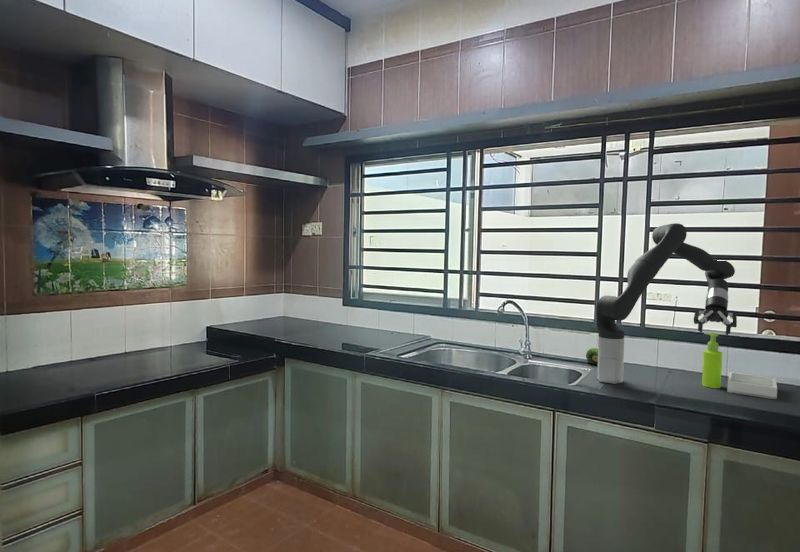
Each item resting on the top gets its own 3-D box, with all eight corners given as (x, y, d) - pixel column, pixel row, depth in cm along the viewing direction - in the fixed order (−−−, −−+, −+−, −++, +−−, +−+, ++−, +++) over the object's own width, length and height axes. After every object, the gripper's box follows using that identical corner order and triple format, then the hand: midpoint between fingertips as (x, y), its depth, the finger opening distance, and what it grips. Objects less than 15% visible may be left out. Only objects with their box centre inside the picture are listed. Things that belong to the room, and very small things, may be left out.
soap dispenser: (711, 383, 182) (713, 331, 181) (724, 388, 175) (726, 335, 174) (696, 383, 182) (698, 331, 181) (708, 388, 175) (711, 335, 174)
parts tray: (776, 399, 162) (777, 388, 162) (727, 392, 170) (727, 381, 170) (774, 388, 175) (775, 378, 175) (728, 382, 183) (729, 372, 183)
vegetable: (590, 346, 208) (592, 339, 227) (582, 360, 210) (584, 352, 228) (606, 355, 206) (606, 347, 224) (598, 369, 208) (598, 360, 226)
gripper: (696, 294, 196) (692, 325, 187) (738, 296, 187) (736, 328, 178) (696, 305, 200) (692, 336, 191) (737, 308, 192) (735, 340, 183)
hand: (713, 332), depth 185 cm, fingers open, 8 cm apart
